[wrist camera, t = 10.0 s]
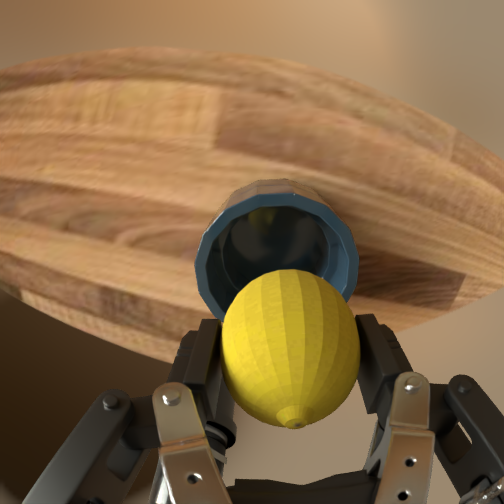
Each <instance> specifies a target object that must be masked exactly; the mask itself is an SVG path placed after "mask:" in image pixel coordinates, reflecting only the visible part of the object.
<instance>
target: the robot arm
mask: <svg viewBox="0 0 504 504" xmlns="http://www.w3.org/2000/svg"><path fill="white" fill-rule="evenodd" d="M355 321H356V326H357V330H358V335H359V340H360V353H361V355H360V365H359V370H358V375H357V380H358V383H359V386H360V389H361V393H362V396H363V400H364V403H365V407H366V410H367V414H373V413H377V416H378V420H377V422H376V425H375V429H374V433H373V437H372V442H371V445H370V449H369V453H368V457H367V460H366V463H365V465H364V468H363V469H362V470H361V471H355V472H349V473H343V474H336V475H334V476H331V477H328V478H325V479H322V480H319V481H316V482H313V483H310V484H306V485H297V484H290V483H284V482H279V481H273V480H258V479H235V485H234V486H228V487H226V486H225V484H224V481H223V479H222V476H223V467H224V463H225V464H226V462H227V458H226V457H225V450H226V447H227V436H226V435H225V434H224V433H223V432H222V431H221V430H219V429H217V428H216V427H213V426H211V425H208V424H206V421H214V419H215V413H216V407H217V401H218V395H219V389H220V383H221V377H222V369H221V360H220V348H219V345H220V335H221V331H222V325H221V320H220V319H202V321H201V324H200V327H199V330H198V331H192V330H190V331H189V332H188V333H187V334H186V335H185V336H184V337H183V338H182V341H181V343H180V346H179V349H178V352H177V356H176V357H175V360H174V363H173V366H172V369H171V372H170V374H169V377H168V380H167V382H166V384H163V385H161V386H160V387H158V388H157V389H156V390H155V392H154V393H153V395H150V396H145V397H137V398H130V397H129V395H128V394H127V393H126V392H124V391H122V390H119V389H110V390H107V391H105V392H103V393H102V394H100V395H99V396H98V398H97V399H96V400H95V401H94V403H93V404H92V405H91V407H90V408H89V409H88V411H87V412H86V414H85V415H84V416H83V417H82V419H81V420H80V421H79V423H78V424H77V426H76V427H75V428H74V430H73V431H72V432H71V434H70V435H69V437H68V438H67V439H66V441H65V442H64V444H63V445H62V446H61V448H60V449H59V450H58V452H57V453H56V455H55V456H54V457H53V459H52V460H51V462H50V463H49V464H48V466H47V467H46V469H45V470H44V472H43V473H42V474H41V476H40V477H39V479H38V480H37V482H36V483H35V485H34V486H33V488H32V489H31V491H30V492H29V494H28V495H27V497H26V498H25V500H24V501H23V503H22V504H122V502H123V500H124V498H125V497H126V494H127V493H128V491H129V489H130V487H131V486H132V484H133V482H134V480H135V478H136V476H137V474H138V472H139V471H140V469H141V467H142V465H143V463H144V462H145V460H146V458H147V456H148V454H149V452H150V450H151V449H152V448H158V447H159V448H158V452H159V457H160V458H159V462H158V466H157V469H156V473H155V477H154V481H153V485H152V489H151V493H150V497H149V501H148V504H426V502H427V497H428V491H429V486H430V479H431V472H432V464H433V455H434V452H435V454H436V455H437V457H438V459H439V461H440V462H441V464H442V466H443V468H444V469H445V471H446V473H447V475H448V476H449V478H450V480H451V482H452V484H453V485H454V487H455V489H456V491H457V493H458V494H459V496H460V498H461V500H460V502H459V504H504V416H503V415H502V413H501V412H500V411H499V410H498V408H497V407H496V406H495V404H494V403H493V402H492V401H491V400H490V398H489V397H488V396H487V394H486V393H485V392H484V391H483V390H482V389H481V387H480V386H479V385H478V384H477V382H476V381H475V380H474V379H473V378H471V377H469V376H467V375H456V376H454V377H453V378H452V379H451V380H450V382H449V384H432V383H429V382H428V380H427V378H426V377H424V376H423V375H421V374H419V373H417V372H414V371H413V369H412V367H411V365H410V363H409V361H408V359H407V357H406V356H405V353H404V352H403V350H402V348H401V346H400V344H399V342H398V341H397V338H396V336H395V334H394V333H393V331H392V330H391V329H390V328H388V327H387V326H386V325H385V324H382V325H379V323H378V322H377V320H376V318H375V316H374V314H363V315H356V316H355ZM458 422H460V423H461V425H462V426H463V427H464V429H465V430H466V432H467V433H468V435H469V436H470V438H471V440H472V444H471V443H470V441H469V440H468V438H467V437H466V435H465V434H464V432H463V431H462V429H461V428H460V426H459V425H458Z"/></svg>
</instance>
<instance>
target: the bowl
mask: <svg viewBox="0 0 504 504" xmlns="http://www.w3.org/2000/svg"><path fill="white" fill-rule="evenodd" d="M359 260H360V258H359V254H358V251H357V248H356V245H355V242H354V239H353V236H352V233H351V230H350V229H349V227H348V226H347V225H346V224H345V223H344V221H343V220H342V219H341V218H340V217H339V216H338V214H337V213H336V212H335V211H334V210H333V209H332V208H331V207H330V206H329V205H328V204H327V203H326V202H325V201H324V200H323V199H322V198H321V197H320V196H319V195H318V194H317V193H316V192H315V191H314V190H313V189H312V188H309V187H307V186H304V185H302V184H299V183H296V182H294V181H291V180H288V179H269V180H258V181H255V182H253V183H251V184H249V185H247V186H245V187H243V188H240V189H238V190H236V191H235V192H233V193H232V194H231V195H230V197H229V198H228V199H227V200H226V201H225V202H224V203H223V204H222V206H221V207H220V208H219V209H218V210H217V212H216V213H215V215H214V217H213V218H212V220H211V222H210V223H209V225H208V227H207V228H206V230H205V232H204V233H203V235H202V238H201V242H200V245H199V249H198V252H197V256H196V259H195V265H194V266H195V273H196V279H197V285H198V291H199V294H200V295H201V297H202V299H203V300H204V302H205V303H206V305H207V306H208V308H209V309H210V311H211V312H212V314H213V315H214V316H215V317H216V318H217V319H220V320H221V322H223V323H224V319H225V315H226V313H227V311H228V309H229V307H230V305H231V304H232V302H233V301H234V299H235V297H236V296H237V294H238V293H239V292H240V291H241V290H242V289H243V288H244V287H246V286H247V285H248V284H249V283H250V282H251V281H253V280H255V279H256V278H258V277H260V276H262V275H264V274H266V273H270V272H273V271H277V270H290V269H295V270H300V271H306V272H309V273H312V274H314V275H316V276H318V277H320V278H323V279H324V280H326V281H327V282H328V283H329V284H330V285H332V286H333V287H334V288H335V289H336V290H337V291H338V292H339V293H340V294H341V295H342V297H343V298H344V300H345V302H346V303H347V302H348V300H349V298H350V297H351V295H352V293H353V291H354V290H355V288H356V286H357V278H358V269H359Z"/></svg>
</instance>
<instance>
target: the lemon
mask: <svg viewBox="0 0 504 504" xmlns="http://www.w3.org/2000/svg"><path fill="white" fill-rule="evenodd" d="M219 348H220V360H221V369H222V374H223V378H224V381H225V384H226V386H227V388H228V390H229V392H230V394H231V396H232V398H233V399H234V400H235V402H236V403H237V404H238V405H239V406H240V407H241V408H242V409H243V410H244V411H245V412H246V413H248V414H249V415H251V416H252V417H254V418H256V419H258V420H259V421H261V422H264V423H267V424H270V425H273V426H278V427H287V428H289V429H299V428H303V427H304V426H306V425H309V424H312V423H315V422H317V421H319V420H321V419H323V418H325V417H326V416H328V415H330V414H331V413H332V412H334V411H335V410H336V409H337V408H338V407H339V406H340V405H341V404H342V403H343V402H344V401H345V400H346V398H347V397H348V395H349V394H350V392H351V390H352V388H353V386H354V384H355V382H356V379H357V375H358V370H359V365H360V355H361V353H360V340H359V335H358V330H357V326H356V321H355V318H354V316H353V313H352V311H351V310H350V308H349V306H348V305H347V303H346V302H345V300H344V298H343V297H342V295H341V294H340V293H339V292H338V291H337V290H336V289H335V288H334V287H333V286H332V285H330V284H329V283H328V282H327V281H326V280H324V279H323V278H320V277H318V276H316V275H314V274H312V273H309V272H306V271H300V270H295V269H290V270H277V271H273V272H270V273H266V274H264V275H262V276H260V277H258V278H256V279H255V280H253V281H251V282H250V283H249V284H248V285H247V286H246V287H244V288H243V289H242V290H241V291H240V292H239V293H238V294H237V296H236V297H235V299H234V301H233V302H232V304H231V305H230V307H229V309H228V311H227V313H226V315H225V319H224V323H223V327H222V331H221V335H220V345H219Z"/></svg>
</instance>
